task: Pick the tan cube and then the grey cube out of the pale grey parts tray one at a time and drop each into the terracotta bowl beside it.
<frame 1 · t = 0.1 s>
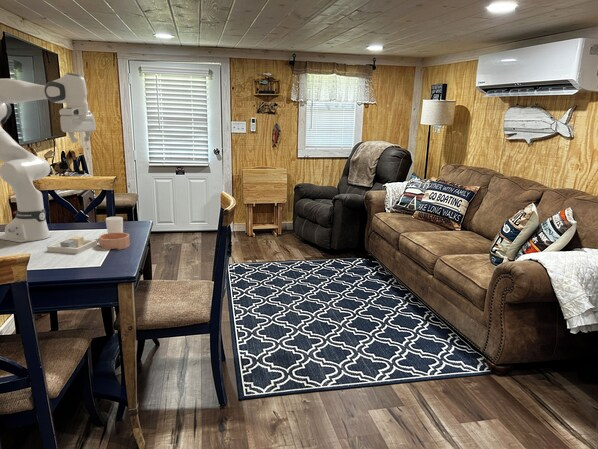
hand: (80, 142, 207), 48 cm above the table, tool pointing down, fingers open, 8 cm apart
parts tray: (73, 249, 206), on the table
tan cube: (77, 246, 208), point 1 cm above the table, touching parts tray
white cup: (115, 237, 227), on the table
bowl: (114, 246, 212), on the table
grey cube: (68, 249, 203), point 1 cm above the table, touching parts tray
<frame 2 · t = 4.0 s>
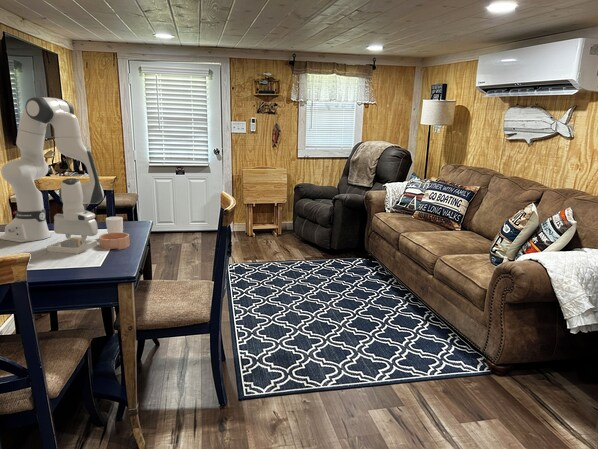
hand: (77, 243, 208), 2 cm above the table, tool pointing down, fingers closed on tan cube, 4 cm apart
tan cube: (77, 246, 208), point 1 cm above the table, touching gripper, parts tray
everything else where it was.
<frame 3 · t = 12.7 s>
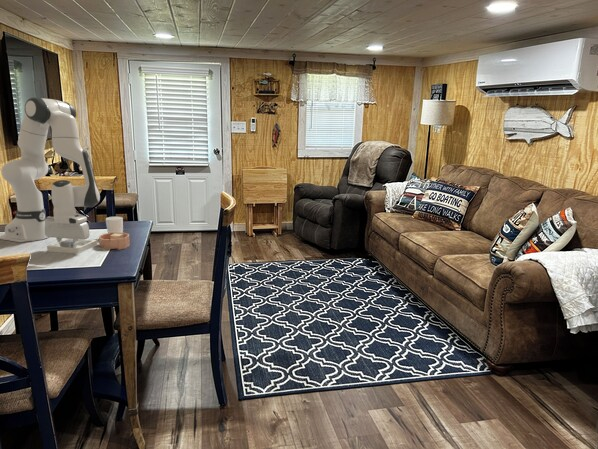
hand: (68, 247, 202), 2 cm above the table, tool pointing down, fingers closed on grey cube, 4 cm apart
tan cube: (117, 242, 214), point 1 cm above the table, touching bowl
grey cube: (68, 249, 203), point 1 cm above the table, touching gripper, parts tray
everything else where it was.
when the fingers open (7 cm above the table, at t = 16.7 s): grey cube drops 5 cm, resting on bowl.
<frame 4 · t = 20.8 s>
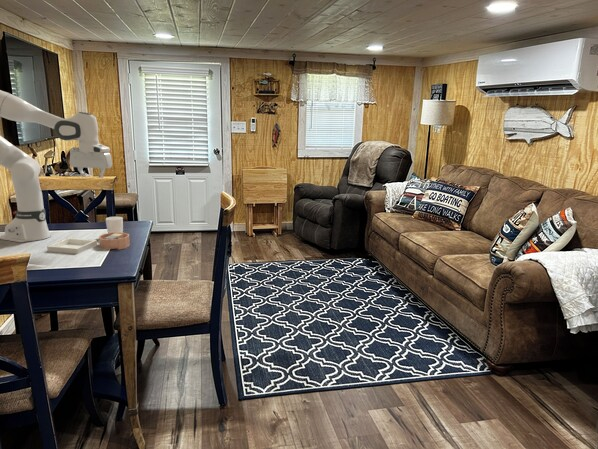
hand: (92, 177, 214), 31 cm above the table, tool pointing down, fingers open, 8 cm apart
grey cube: (111, 245, 210), point 1 cm above the table, touching bowl
everything else where it was.
at the end: tan cube inside the target area on the bowl (2.3 cm from its centre), point 1.0 cm above the bowl's base; grey cube inside the target area on the bowl (2.4 cm from its centre), point 1.0 cm above the bowl's base; white cup moved 0.2 cm from its start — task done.
